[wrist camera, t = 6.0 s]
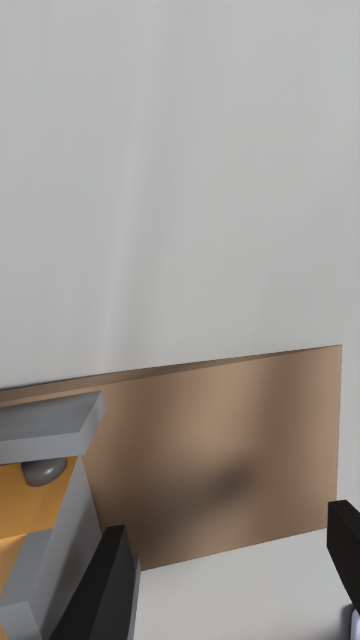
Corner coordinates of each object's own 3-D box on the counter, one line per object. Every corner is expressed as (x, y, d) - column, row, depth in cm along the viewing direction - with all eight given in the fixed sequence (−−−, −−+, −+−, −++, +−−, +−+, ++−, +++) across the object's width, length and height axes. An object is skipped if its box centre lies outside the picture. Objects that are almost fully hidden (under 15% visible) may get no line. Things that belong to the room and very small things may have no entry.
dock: (328, 337, 12) (427, 391, 7) (324, 507, 14) (396, 629, 10) (-77, 386, 12) (-236, 469, 7) (-12, 545, 14) (-100, 682, 10)
